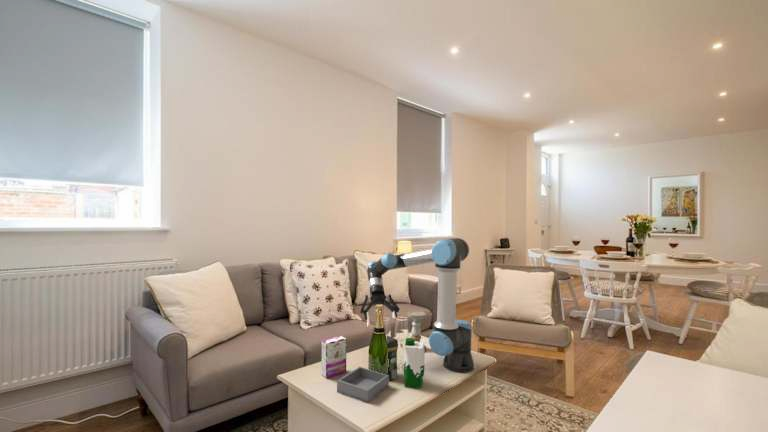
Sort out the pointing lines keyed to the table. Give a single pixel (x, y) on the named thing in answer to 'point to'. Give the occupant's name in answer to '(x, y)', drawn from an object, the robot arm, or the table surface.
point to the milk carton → (413, 363)
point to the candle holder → (416, 325)
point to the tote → (363, 384)
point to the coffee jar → (392, 357)
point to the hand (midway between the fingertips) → (382, 325)
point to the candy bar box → (333, 356)
